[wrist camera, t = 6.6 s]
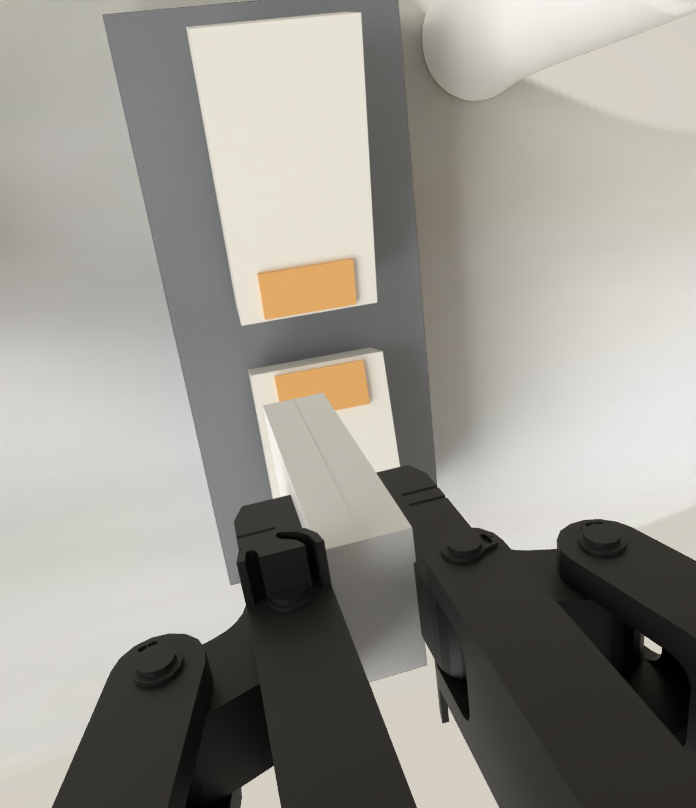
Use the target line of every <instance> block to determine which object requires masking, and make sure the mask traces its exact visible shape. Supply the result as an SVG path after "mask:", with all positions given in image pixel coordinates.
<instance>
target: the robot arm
mask: <svg viewBox="0 0 696 808" xmlns="http://www.w3.org/2000/svg"><path fill="white" fill-rule="evenodd" d="M263 409H264V415H265V420H266V425H267V430H268V435H269V441H270V446H271V451H272V456H273V461H274V467H275V472H276V477H277V482H278V487H279V493H280V497H279V498H274V499H270V500H266V501H262V502H258V503H253V504H249V505H245V506H242V507H241V509H240V511H239V512H238V514H237V516H236V518H235V520H234V526H235V532H236V538H237V544H238V549H239V552H238V557H237V562H236V564H237V568H238V572H239V577H240V581H241V585H242V590H243V594H244V598H245V603H246V607H245V609H244V612H243V614H242V615H241V617H240V618H239V619H238V621H237V622H236V623H235V624H234V625H233V626H232V627H230V628H229V629H228V630H227V631H226V632H224V633H222V634H221V635H219V636H218V637H216V638H214V639H212V640H210V641H208V642H207V643H205V644H203V645H202V644H201V643H200V641H199V640H198V639H196V638H194V637H191V636H189V635H187V634H166V635H161V636H157V637H153V638H150V639H148V640H146V641H144V642H142V643H140V644H138V645H136V646H134V647H133V648H132V649H131V650H129V651H128V652H127V653H126V654H125V655H123V656H122V657H121V658H120V659H119V660H118V662H117V663H116V665H115V666H114V668H113V669H112V671H111V672H110V675H109V677H108V679H107V682H106V684H105V686H104V688H103V691H102V693H101V695H100V698H99V700H98V702H97V705H96V707H95V709H94V712H93V714H92V716H91V718H90V721H89V723H88V725H87V728H86V730H85V732H84V735H83V737H82V739H81V742H80V744H79V746H78V749H77V751H76V753H75V755H74V758H73V760H72V762H71V765H70V767H69V769H68V772H67V774H66V776H65V779H64V781H63V783H62V785H61V788H60V790H59V792H58V795H57V797H56V799H55V802H54V804H53V806H52V808H240V806H241V800H242V795H241V794H242V793H241V787H242V786H243V785H245V784H246V783H248V782H249V781H251V780H252V779H254V778H256V777H257V776H259V775H260V774H262V773H263V772H265V771H266V770H268V769H269V768H271V767H272V766H274V769H275V774H276V780H277V786H278V792H279V797H280V803H281V808H417V807H416V804H415V801H414V799H413V796H412V794H411V791H410V788H409V786H408V783H407V781H406V778H405V775H404V773H403V770H402V768H401V765H400V762H399V760H398V757H397V755H396V752H395V750H394V747H393V744H392V742H391V739H390V737H389V734H388V731H387V728H386V726H385V723H384V721H383V718H382V715H381V713H380V710H379V708H378V705H377V703H376V700H375V697H374V695H373V692H372V689H371V687H370V684H369V682H372V681H376V680H379V679H382V678H386V677H389V676H393V675H396V674H399V673H403V672H406V671H409V670H412V669H416V668H419V667H423V666H426V665H427V658H426V649H425V642H426V644H427V646H428V648H429V649H430V651H431V653H432V655H433V657H434V659H435V667H436V677H437V687H438V697H439V706H440V713H441V718H442V723H446V722H449V716H448V707H449V709H450V711H451V713H452V714H453V717H454V719H455V721H456V722H457V725H458V727H459V728H460V730H461V732H462V734H463V736H464V739H465V740H466V742H467V744H468V746H469V748H470V750H471V752H472V754H473V756H474V758H475V760H476V762H477V764H478V766H479V768H480V770H481V772H482V774H483V776H484V778H485V780H486V782H487V784H488V786H489V788H490V790H491V792H492V794H493V796H494V798H495V800H496V802H497V804H498V806H499V808H696V561H695V560H693V559H691V558H689V557H687V556H685V555H683V554H682V553H680V552H678V551H676V550H674V549H672V548H670V547H668V546H666V545H664V544H662V543H661V542H659V541H657V540H655V539H653V538H651V537H649V536H647V535H645V534H643V533H641V532H640V531H638V530H636V529H634V528H632V527H629V526H627V525H624V524H621V523H619V522H615V521H608V520H602V519H593V520H583V521H579V522H576V523H572V524H569V525H568V526H567V527H565V528H564V529H563V530H561V531H560V533H559V536H558V538H557V549H551V550H530V551H526V550H511V549H510V548H509V547H508V545H507V544H506V543H505V542H504V541H503V540H502V539H501V538H499V537H498V536H497V535H495V534H494V533H492V532H489V531H486V530H483V529H480V528H471V526H470V525H469V524H468V523H467V522H466V520H465V519H464V518H463V517H462V516H461V514H460V513H459V512H458V511H457V509H456V508H455V507H454V506H453V505H452V503H451V502H450V501H449V500H448V499H447V498H445V495H444V494H443V492H442V491H441V490H440V489H439V488H437V485H436V484H435V483H434V481H433V480H432V479H431V478H430V477H429V475H428V474H427V473H425V472H423V471H421V470H419V469H417V468H414V467H412V466H410V465H406V466H402V467H397V468H393V469H389V470H385V471H380V472H375V470H374V469H373V467H372V466H371V464H370V463H369V461H368V460H367V458H366V457H365V455H364V454H363V452H362V451H361V449H360V448H359V446H358V445H357V443H356V442H355V440H354V439H353V437H352V436H351V434H350V433H349V431H348V430H347V428H346V426H345V425H344V423H343V422H342V420H341V419H340V417H339V416H338V414H337V413H336V411H335V410H334V408H333V407H332V405H331V404H330V402H329V401H328V399H327V398H326V396H325V395H324V393H319V394H314V395H309V396H305V397H300V398H295V399H291V400H286V401H281V402H276V403H272V404H267V405H263ZM644 636H646V637H648V638H649V639H650V640H652V641H653V642H655V643H656V644H658V645H659V646H661V647H662V654H657V653H655V652H653V651H651V650H650V649H649V648H647V647H646V646H644Z"/></svg>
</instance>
